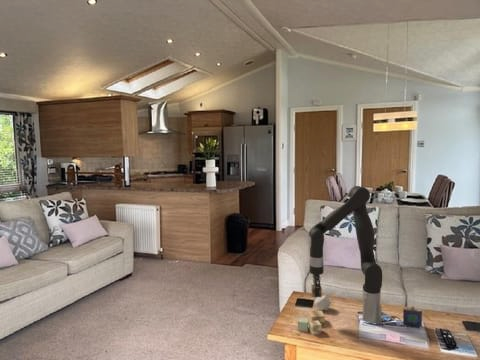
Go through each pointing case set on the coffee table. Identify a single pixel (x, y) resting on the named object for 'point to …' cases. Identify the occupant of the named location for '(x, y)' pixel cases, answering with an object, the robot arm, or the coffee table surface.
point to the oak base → (317, 316)
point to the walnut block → (314, 291)
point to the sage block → (303, 324)
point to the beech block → (315, 327)
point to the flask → (412, 317)
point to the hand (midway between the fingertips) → (316, 294)
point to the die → (322, 303)
